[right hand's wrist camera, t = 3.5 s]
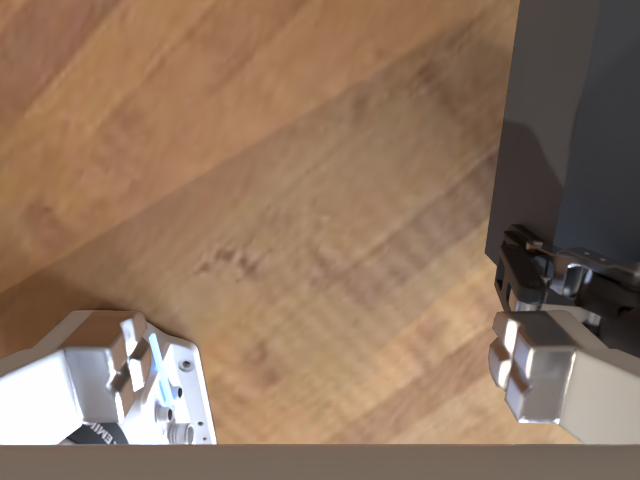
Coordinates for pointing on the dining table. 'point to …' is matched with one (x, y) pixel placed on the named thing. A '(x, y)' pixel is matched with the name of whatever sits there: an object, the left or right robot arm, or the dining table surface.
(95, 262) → the dining table surface
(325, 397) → the dining table surface
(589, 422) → the right robot arm
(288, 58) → the dining table surface
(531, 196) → the bar
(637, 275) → the left robot arm
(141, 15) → the dining table surface
